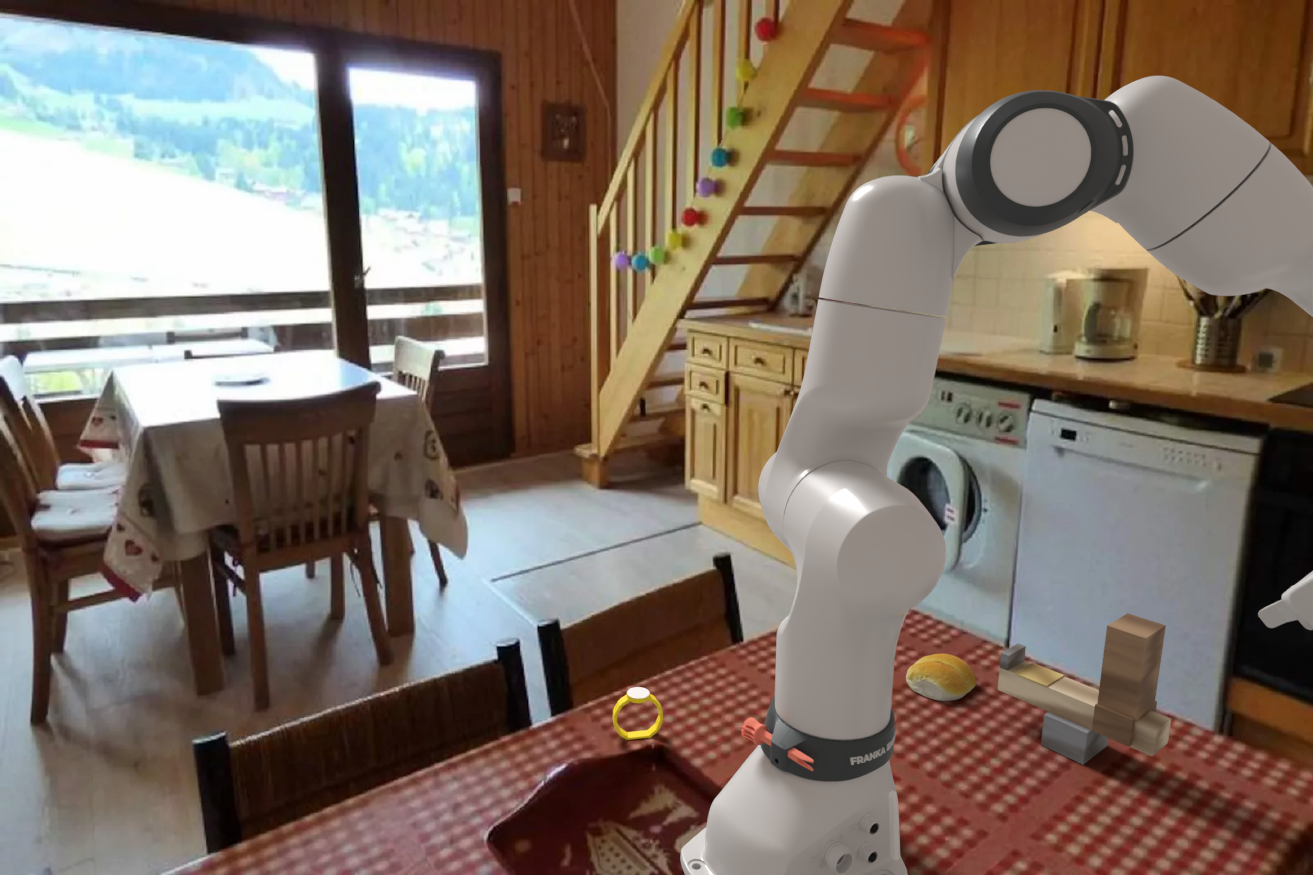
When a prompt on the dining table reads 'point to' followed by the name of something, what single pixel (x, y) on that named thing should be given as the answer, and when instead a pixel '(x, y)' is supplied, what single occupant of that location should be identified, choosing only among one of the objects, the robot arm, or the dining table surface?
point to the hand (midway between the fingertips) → (1278, 608)
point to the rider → (1128, 676)
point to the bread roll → (941, 677)
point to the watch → (637, 697)
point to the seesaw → (1070, 709)
